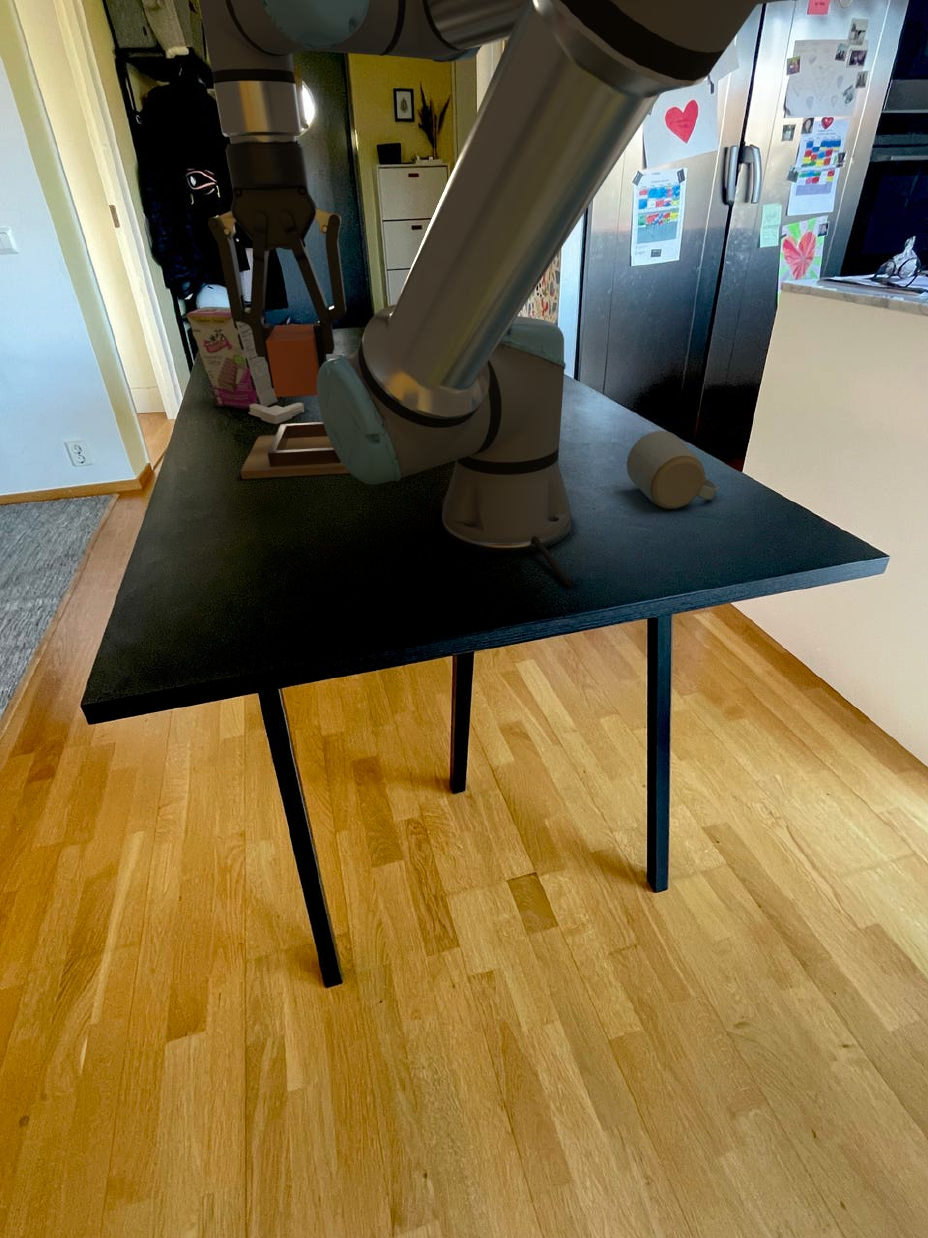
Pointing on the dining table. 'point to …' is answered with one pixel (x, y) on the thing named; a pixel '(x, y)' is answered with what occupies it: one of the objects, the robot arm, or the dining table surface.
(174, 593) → the dining table surface
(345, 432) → the robot arm
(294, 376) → the orange block
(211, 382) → the candy bar box
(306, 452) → the wooden board with frame
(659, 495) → the ceramic mug
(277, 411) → the corner connector
